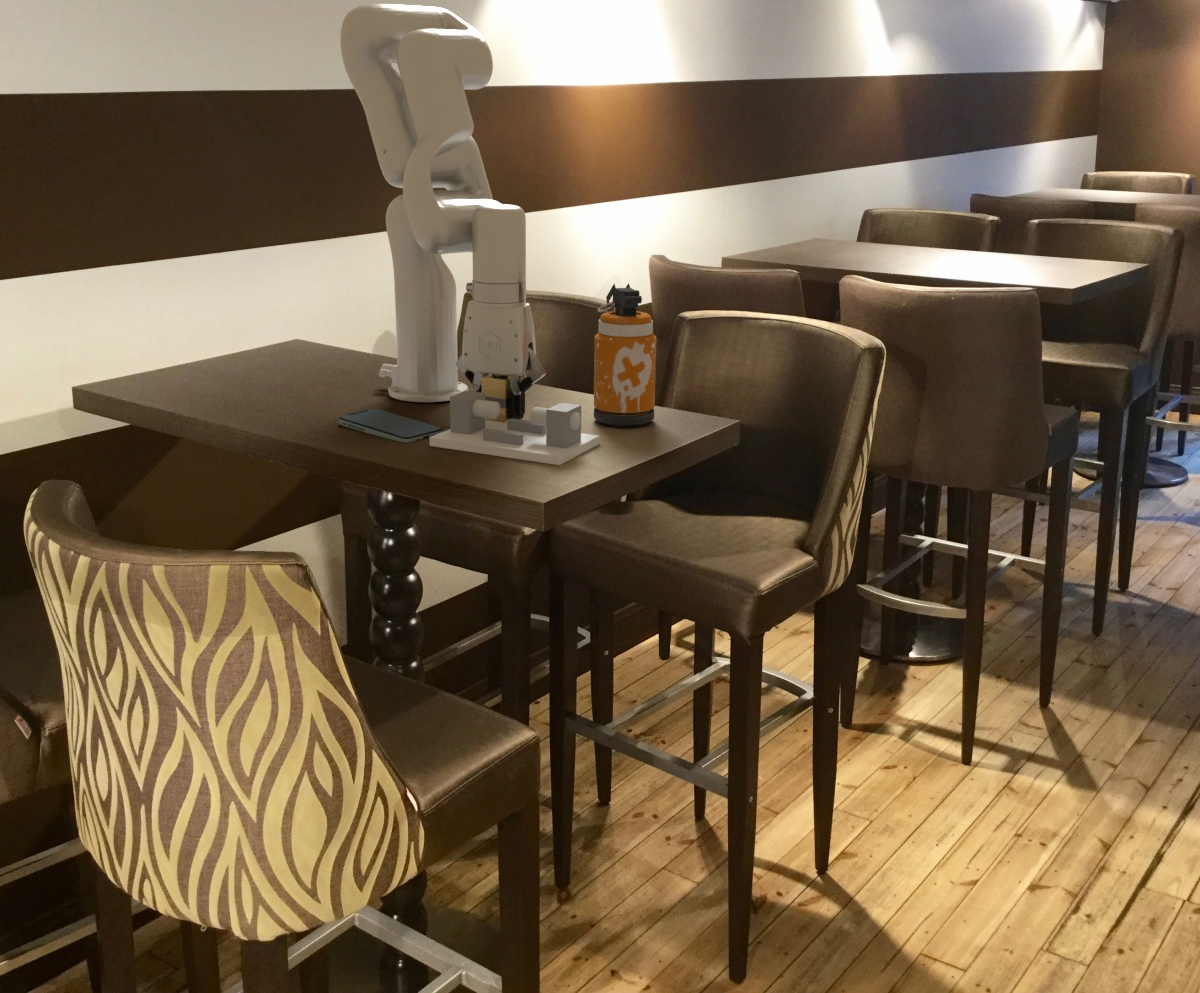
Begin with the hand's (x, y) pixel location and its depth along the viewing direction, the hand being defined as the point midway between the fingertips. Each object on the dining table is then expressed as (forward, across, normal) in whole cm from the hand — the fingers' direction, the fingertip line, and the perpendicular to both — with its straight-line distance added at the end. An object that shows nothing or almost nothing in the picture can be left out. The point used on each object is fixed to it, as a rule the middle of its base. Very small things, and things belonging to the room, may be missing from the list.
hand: (500, 416), depth 187 cm
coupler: (+1, 0, 0) cm, 1 cm away
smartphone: (+2, -12, -11) cm, 16 cm away
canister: (+1, +15, +10) cm, 18 cm away
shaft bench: (+1, +8, -10) cm, 13 cm away
